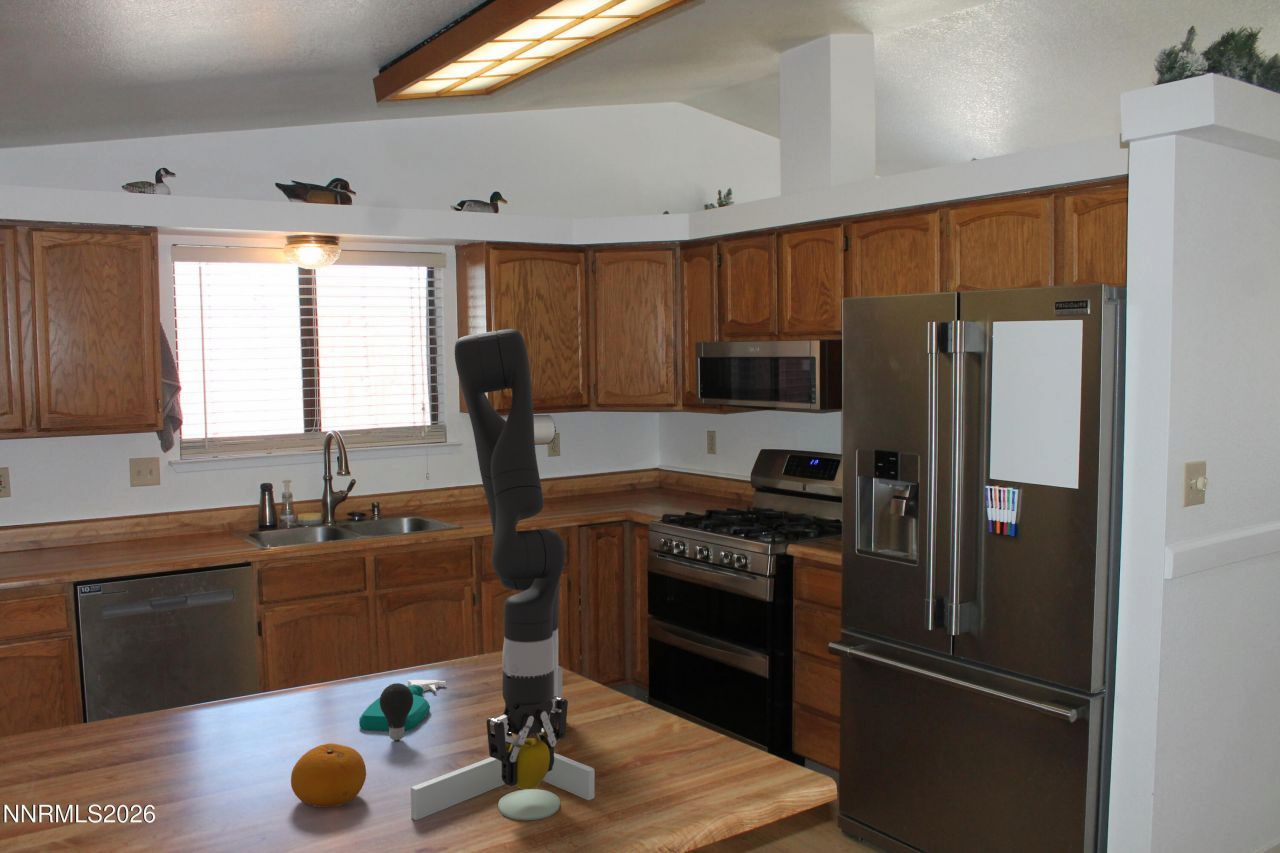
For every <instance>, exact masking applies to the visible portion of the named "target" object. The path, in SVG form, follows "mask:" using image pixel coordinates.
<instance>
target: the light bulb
mask: <svg viewBox="0 0 1280 853" xmlns="http://www.w3.org/2000/svg"><path fill="white" fill-rule="evenodd" d="M407 686H408V685H405V684H403V683H399V682H397V683H396V682H394V683H392V684H389V685H388V686H386V687H385V688H384V689H383V690H382V692H381V694H380V696H379V698H380V707H381V710H382V712H383V714H384V715H385V717H386V719H387V721H388V726H389V731H388V732H389V738H390V740H392V741H394V743H398V742H399V743H400V741H401V740H402V739H403V738H405V732H404V726H405V723H406V718H407V716H408V714H409V712H410V710H411V708H412V705H413V694H412V692H411V690H410V689H409V688H408V687H407Z"/></svg>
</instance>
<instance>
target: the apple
mask: <svg viewBox="0 0 1280 853" xmlns="http://www.w3.org/2000/svg"><path fill="white" fill-rule="evenodd" d="M511 747H512V744H511V746H510V749H509V752H510V750H511ZM516 761H517V785H515V787H517V788H518V789H520V790H525V789H536V787H538V786H539V785H540V784H541V783H542V781H543V778H544V777H545V775H546V774H547V771H548V768H549V761H550V753H549V749H548V746H547V745H546V744H545V743H544V742H543V741H542V740H539V738H534V737H533V738H531V737H526V740H525V742H524V745H523V746H522V747H520V749H519V752H518V755H517V758H516Z"/></svg>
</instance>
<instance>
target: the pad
mask: <svg viewBox="0 0 1280 853" xmlns="http://www.w3.org/2000/svg"><path fill="white" fill-rule="evenodd" d="M497 803H498V807H497V808H498V812H499V813H500V814H501V815H502V816H504V817H505V818H508V819H510V820H516V821H527V822H529V821H537V820H542V819H546V818H549V817H552V816H553V815H555V814H556V813H557V812H558V811H559V809H560V806H561V800H560V798H559V797H558V795H556V794H555V793H553V792H551V791H548V790H544V789H537V788H533V789H520V790H515V791H512V792H509V793H507V794H505V795H503V796H502V797H501V798H499V800H498V802H497Z"/></svg>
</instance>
